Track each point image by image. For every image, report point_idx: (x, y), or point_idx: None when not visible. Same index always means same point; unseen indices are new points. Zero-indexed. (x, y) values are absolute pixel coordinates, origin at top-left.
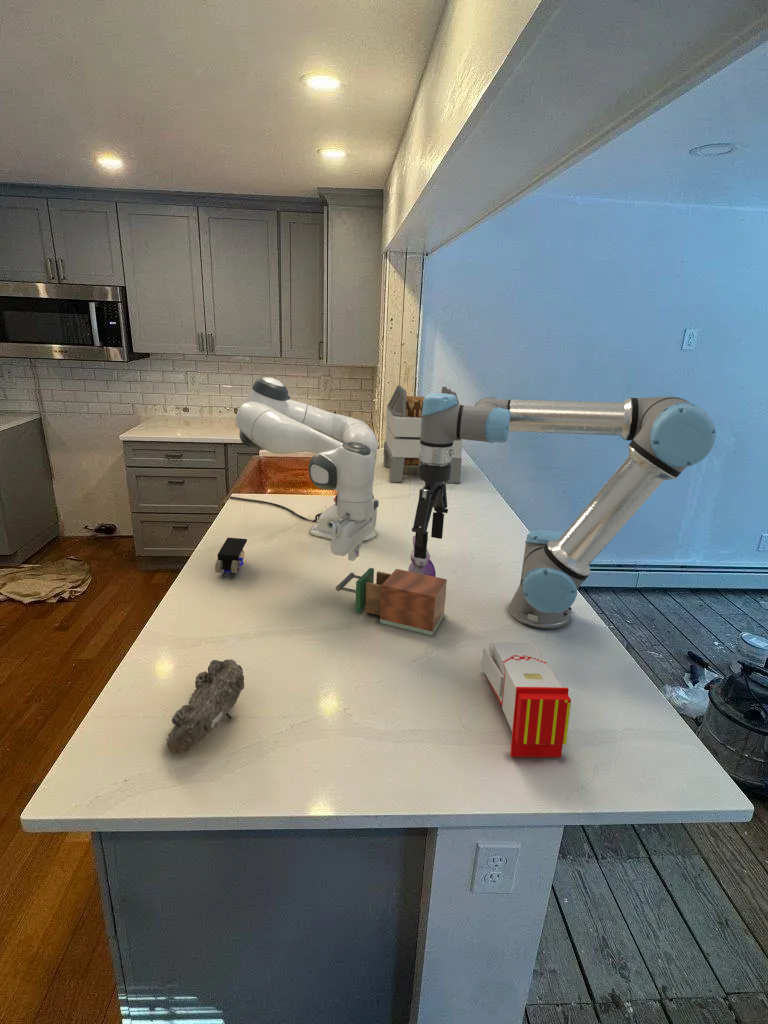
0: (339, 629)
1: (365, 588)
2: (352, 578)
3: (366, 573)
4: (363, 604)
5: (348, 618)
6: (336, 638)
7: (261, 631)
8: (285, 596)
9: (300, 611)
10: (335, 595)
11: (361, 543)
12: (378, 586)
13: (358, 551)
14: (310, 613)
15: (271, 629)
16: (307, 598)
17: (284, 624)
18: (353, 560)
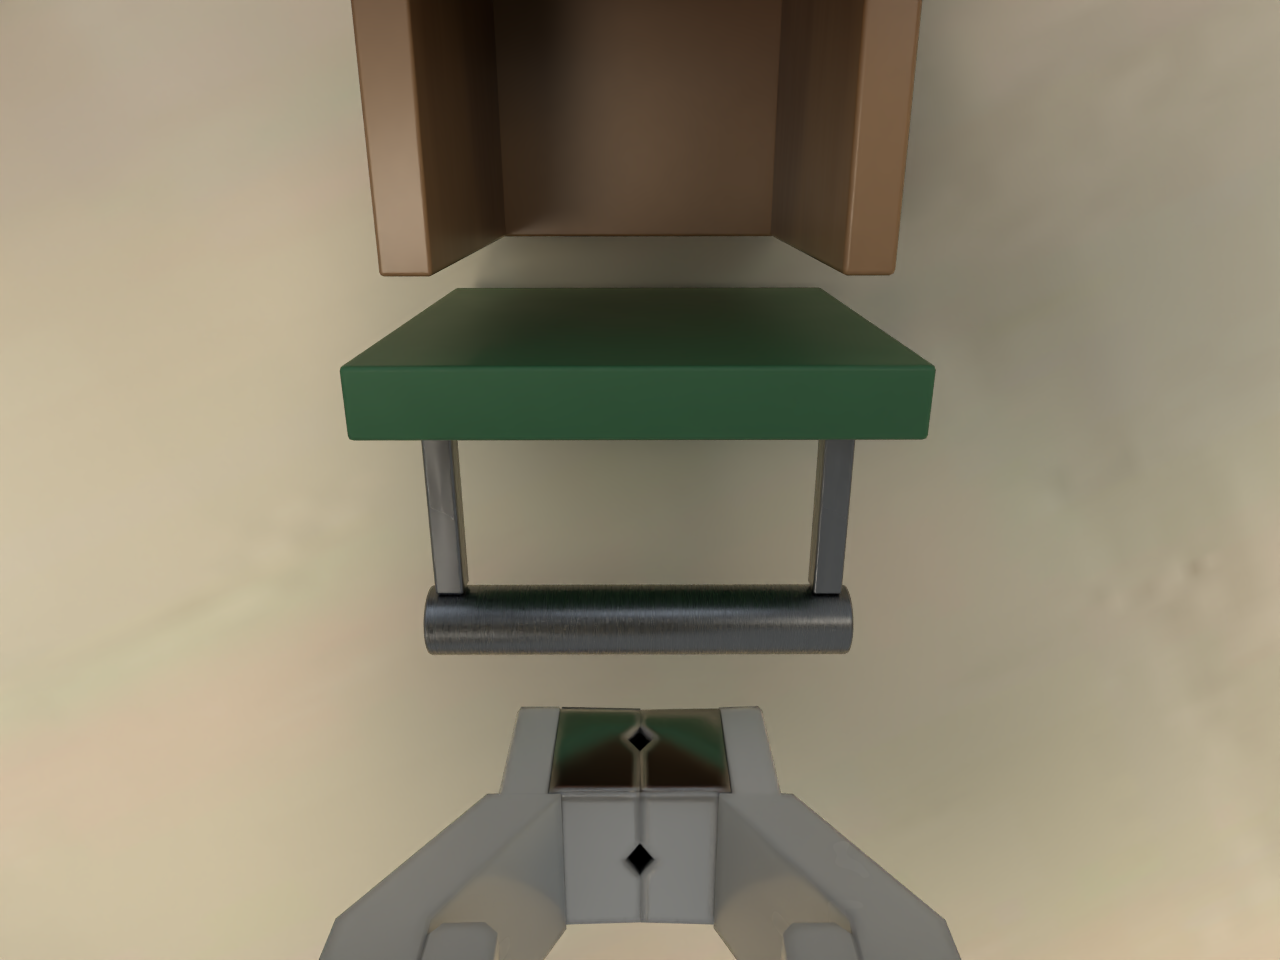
0: (1099, 355)
1: (692, 327)
2: (498, 585)
3: (585, 407)
4: (726, 295)
5: None
6: (1257, 313)
7: (1273, 845)
8: None
9: (915, 754)
10: None
11: (342, 922)
12: (916, 28)
13: (546, 792)
14: (918, 678)
15: (1231, 805)
16: None
17: (1140, 764)
18: (761, 719)
